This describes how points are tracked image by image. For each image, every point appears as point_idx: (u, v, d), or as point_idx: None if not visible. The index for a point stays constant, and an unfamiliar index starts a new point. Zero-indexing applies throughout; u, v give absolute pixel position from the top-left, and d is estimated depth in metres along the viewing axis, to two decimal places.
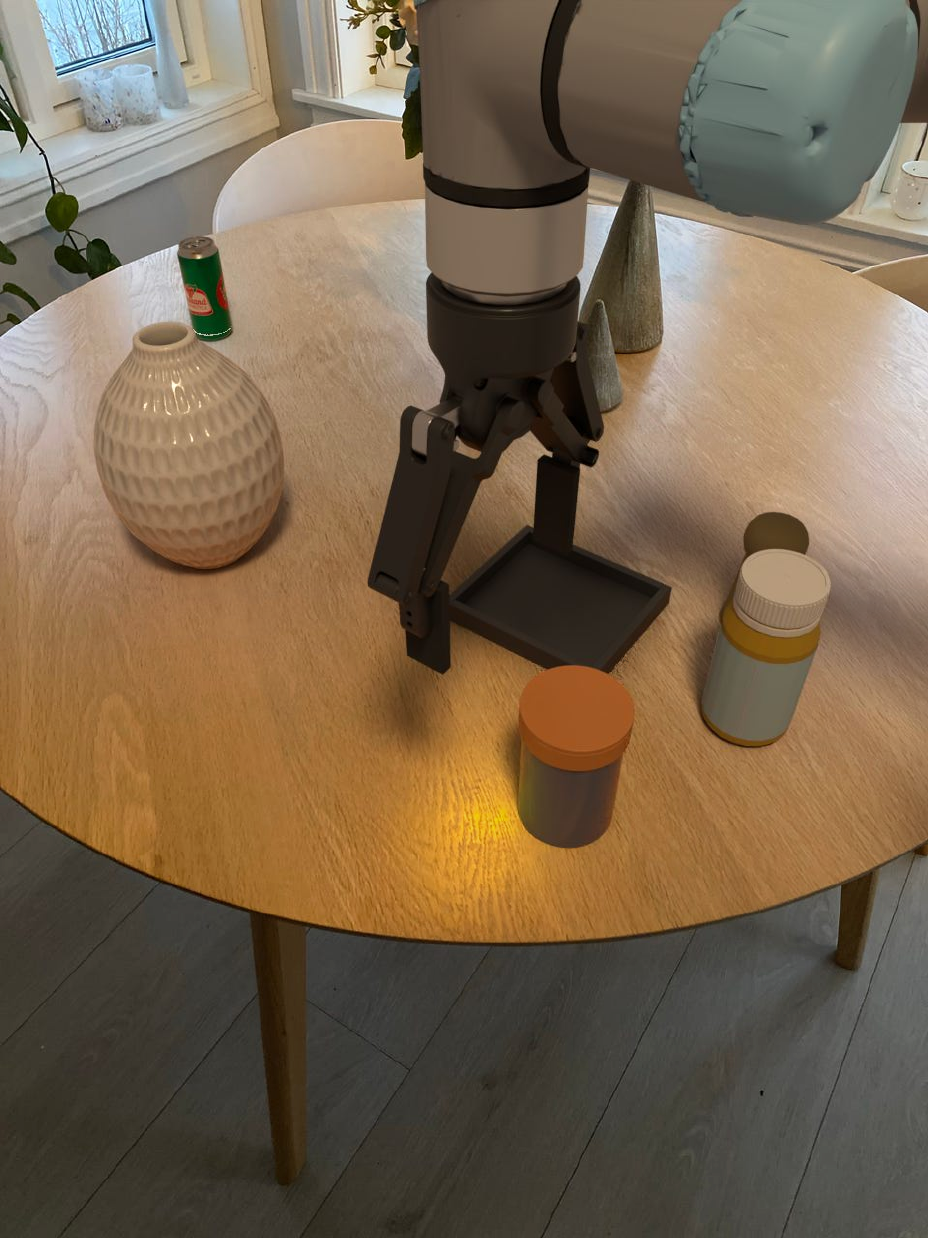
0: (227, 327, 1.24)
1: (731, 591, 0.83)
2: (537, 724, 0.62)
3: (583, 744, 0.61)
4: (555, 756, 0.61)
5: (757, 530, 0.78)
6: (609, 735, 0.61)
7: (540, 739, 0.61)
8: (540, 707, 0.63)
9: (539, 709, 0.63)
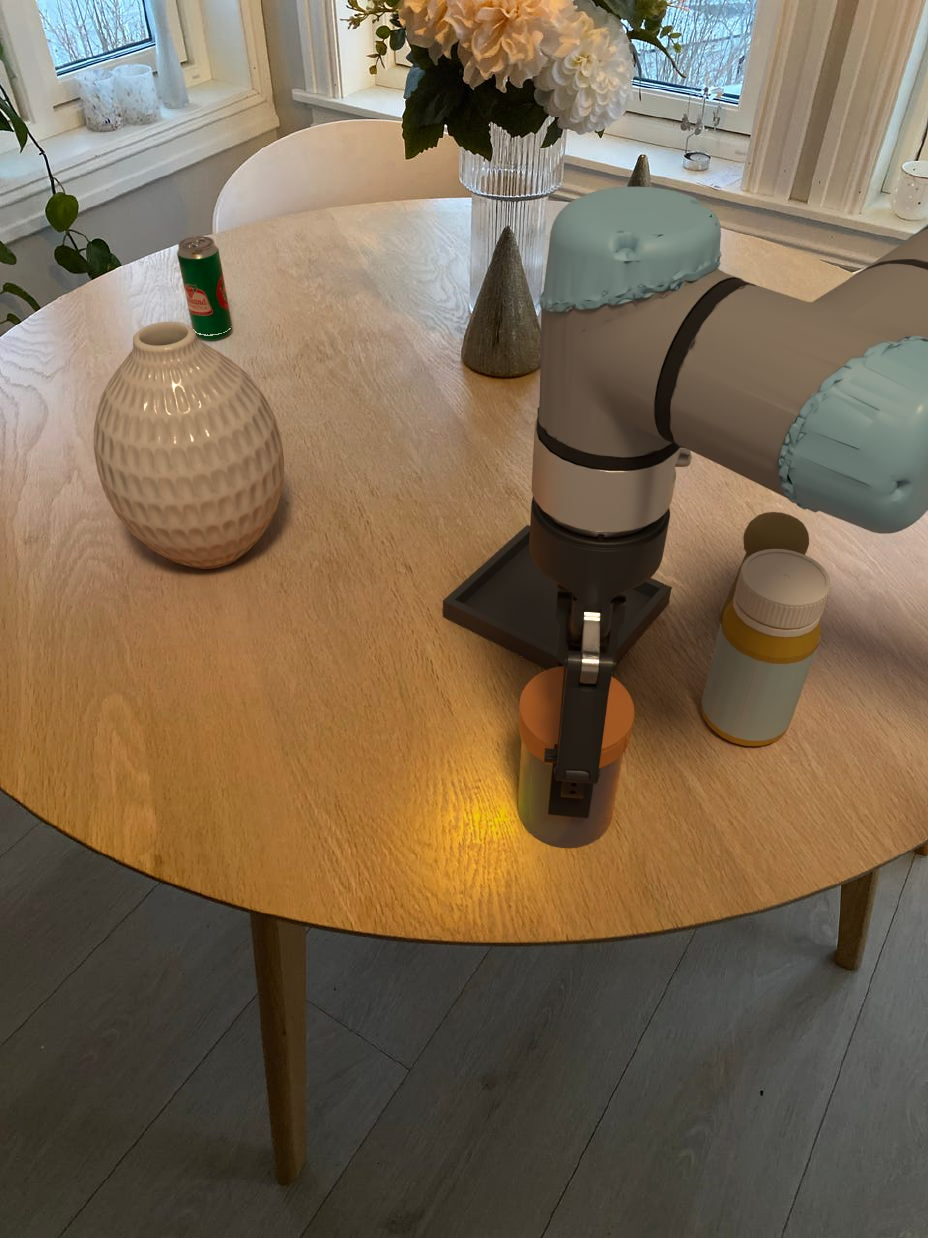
0: (227, 327, 1.24)
1: (731, 591, 0.83)
2: (537, 724, 0.62)
3: None
4: None
5: (757, 530, 0.78)
6: (609, 735, 0.61)
7: (540, 739, 0.61)
8: (540, 707, 0.63)
9: (539, 709, 0.63)
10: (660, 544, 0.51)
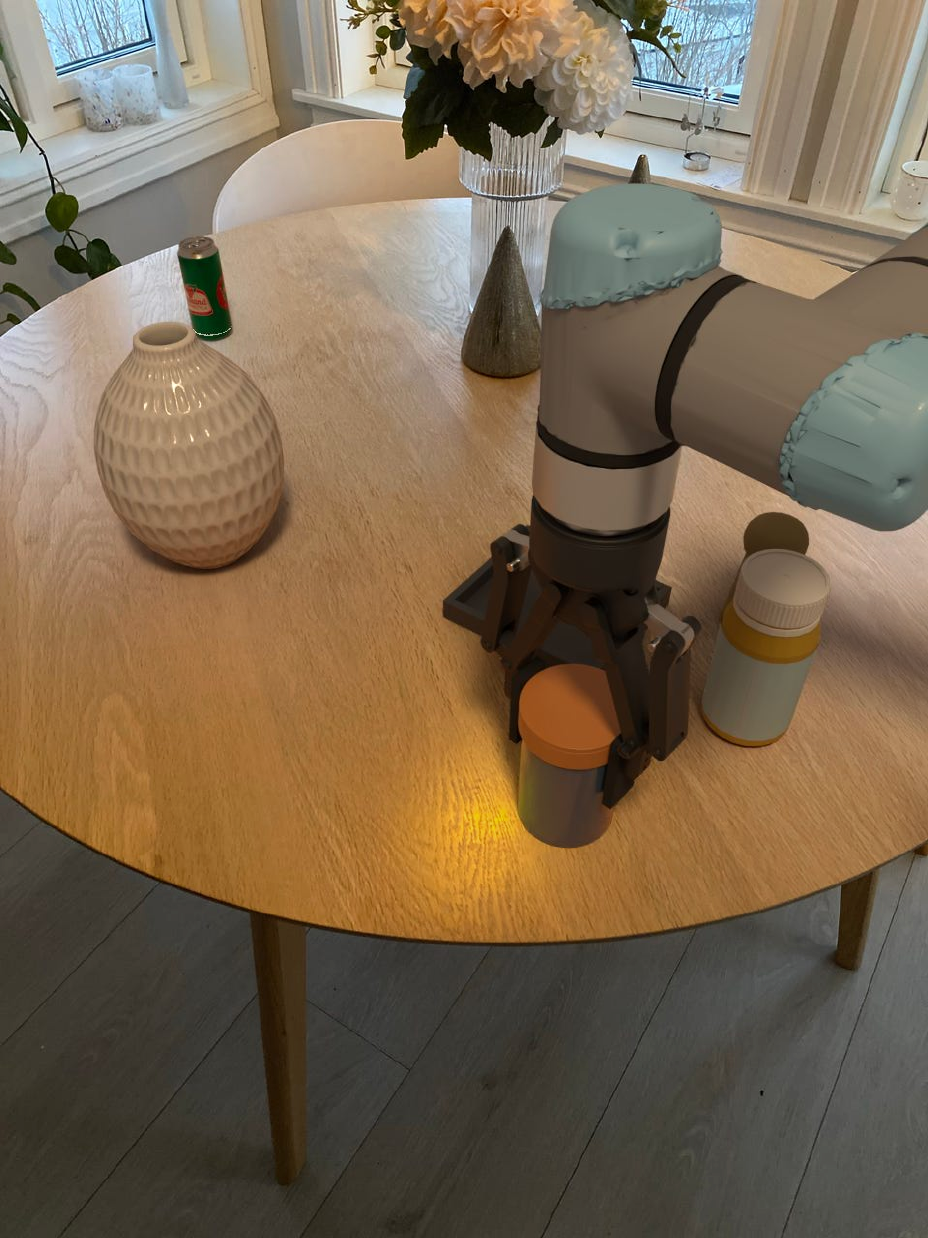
0: (227, 327, 1.24)
1: (731, 591, 0.83)
2: (575, 741, 0.61)
3: None
4: (608, 753, 0.61)
5: (757, 530, 0.78)
6: None
7: (592, 749, 0.60)
8: (558, 727, 0.62)
9: (559, 729, 0.62)
10: None
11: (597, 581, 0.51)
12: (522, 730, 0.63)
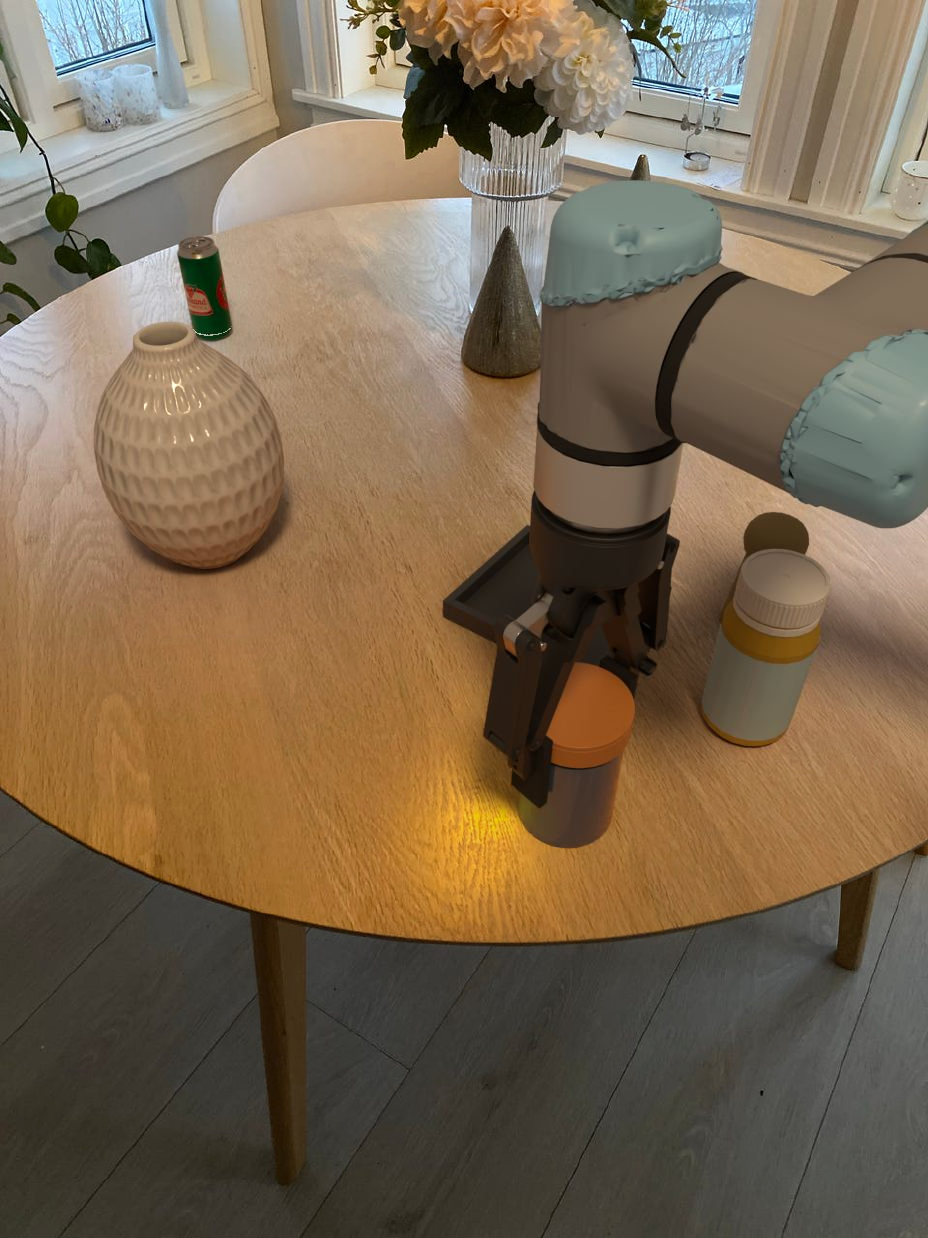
0: (227, 327, 1.24)
1: (731, 591, 0.83)
2: (624, 709, 0.63)
3: (603, 675, 0.65)
4: None
5: (757, 530, 0.78)
6: (576, 668, 0.65)
7: (633, 699, 0.63)
8: (608, 720, 0.62)
9: (610, 719, 0.62)
10: None
11: None
12: (594, 758, 0.61)
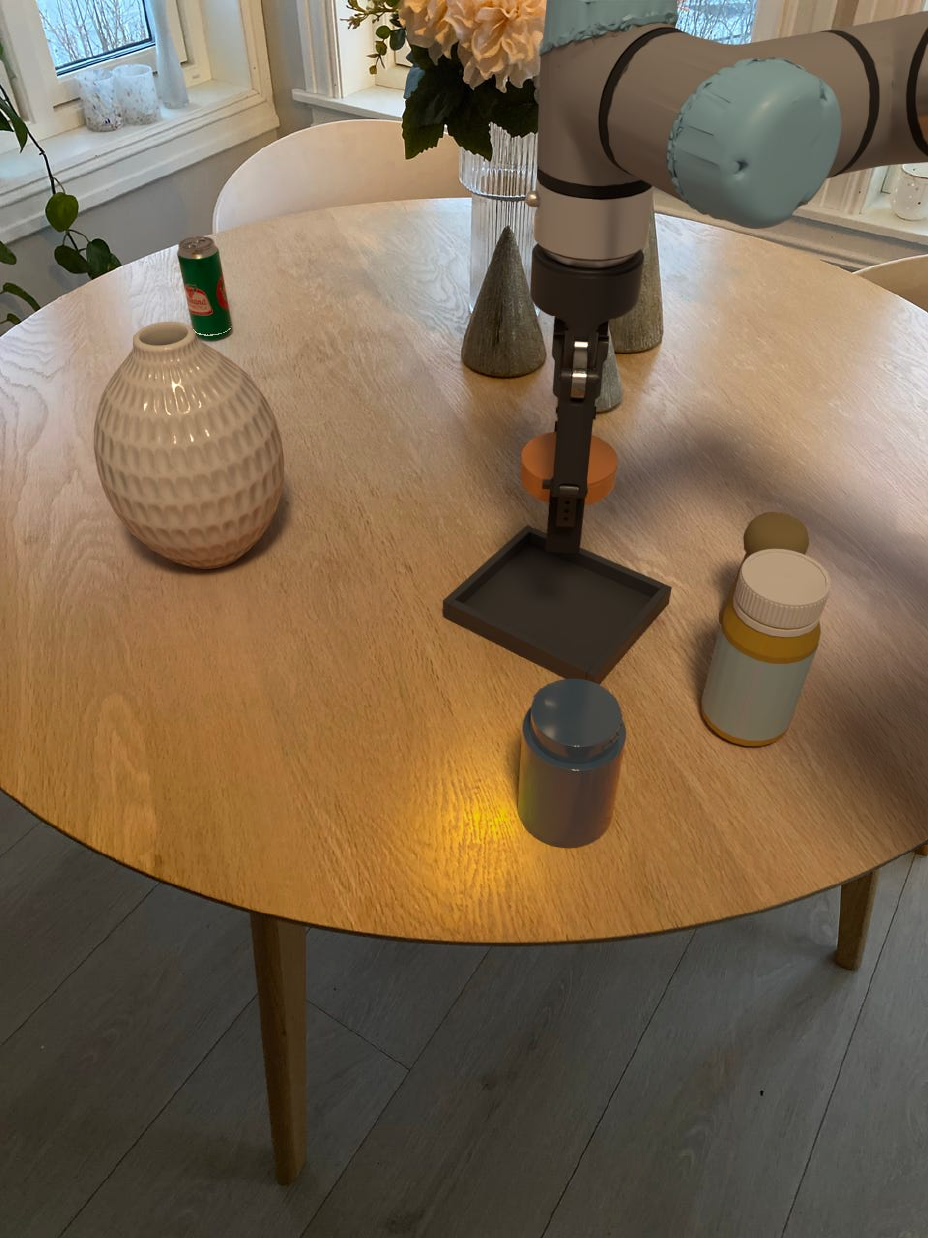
0: (227, 327, 1.24)
1: (731, 591, 0.83)
2: (601, 445, 0.77)
3: None
4: None
5: (757, 530, 0.78)
6: (543, 439, 0.77)
7: (598, 438, 0.78)
8: (599, 455, 0.76)
9: (600, 454, 0.76)
10: None
11: None
12: (610, 485, 0.75)
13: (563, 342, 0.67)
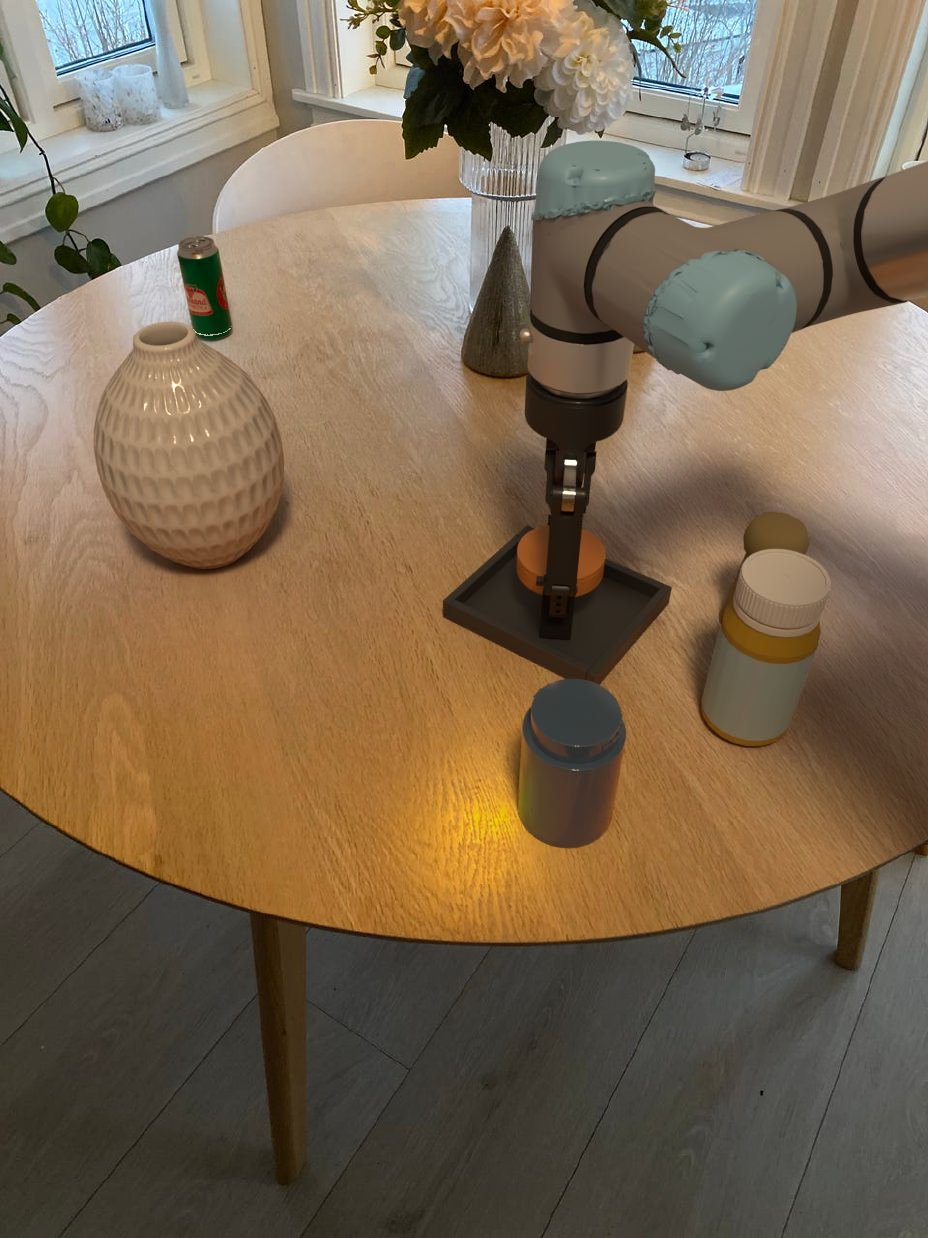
0: (227, 327, 1.24)
1: (731, 591, 0.83)
2: (590, 539, 0.83)
3: None
4: None
5: (757, 530, 0.78)
6: (537, 532, 0.84)
7: (587, 531, 0.84)
8: (589, 549, 0.82)
9: (589, 548, 0.82)
10: None
11: None
12: (598, 577, 0.81)
13: (555, 457, 0.74)
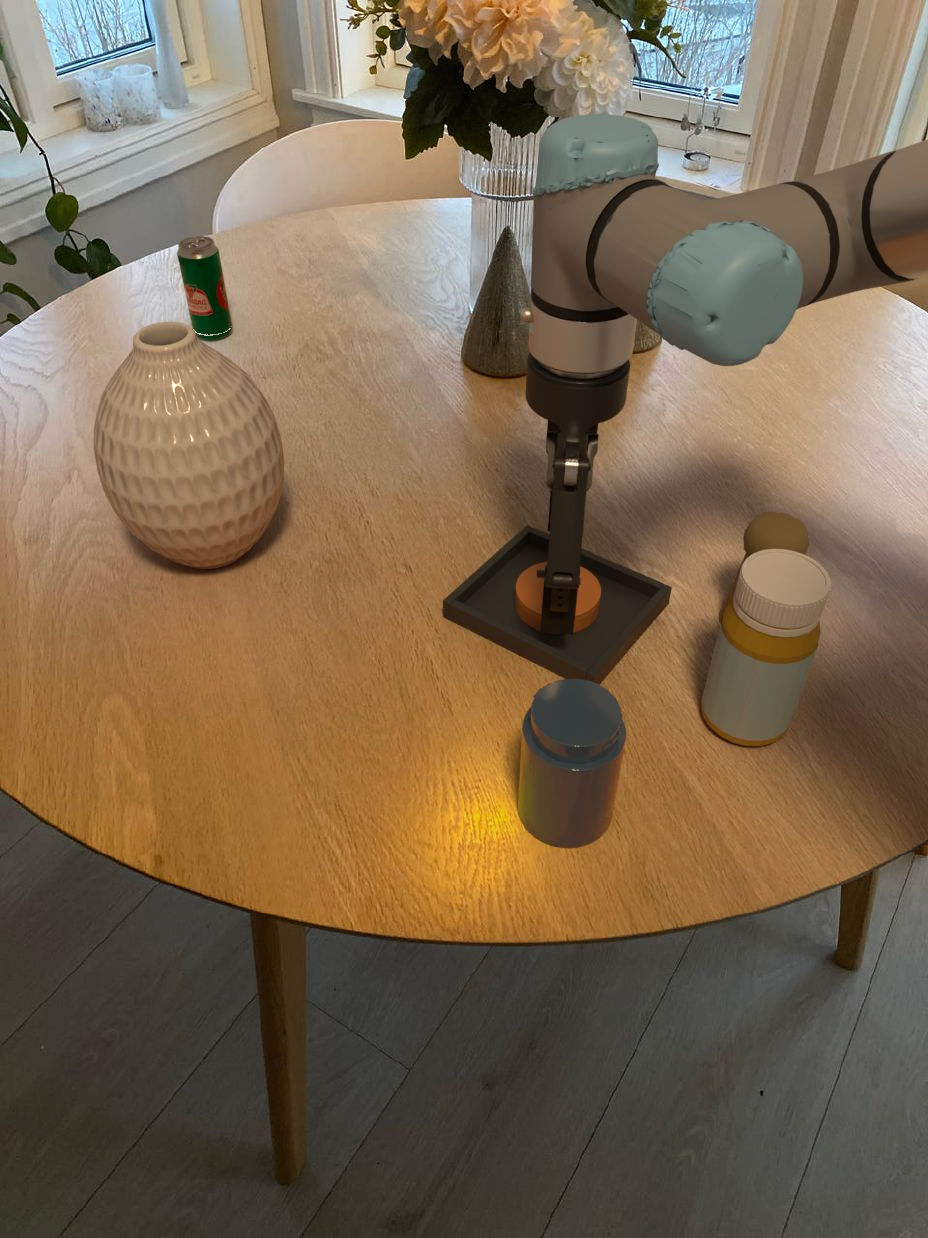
0: (227, 327, 1.24)
1: (731, 591, 0.83)
2: (587, 576, 0.86)
3: None
4: None
5: (757, 530, 0.78)
6: (535, 569, 0.87)
7: (584, 568, 0.87)
8: (585, 587, 0.85)
9: (586, 586, 0.85)
10: None
11: None
12: (594, 614, 0.84)
13: (556, 437, 0.72)
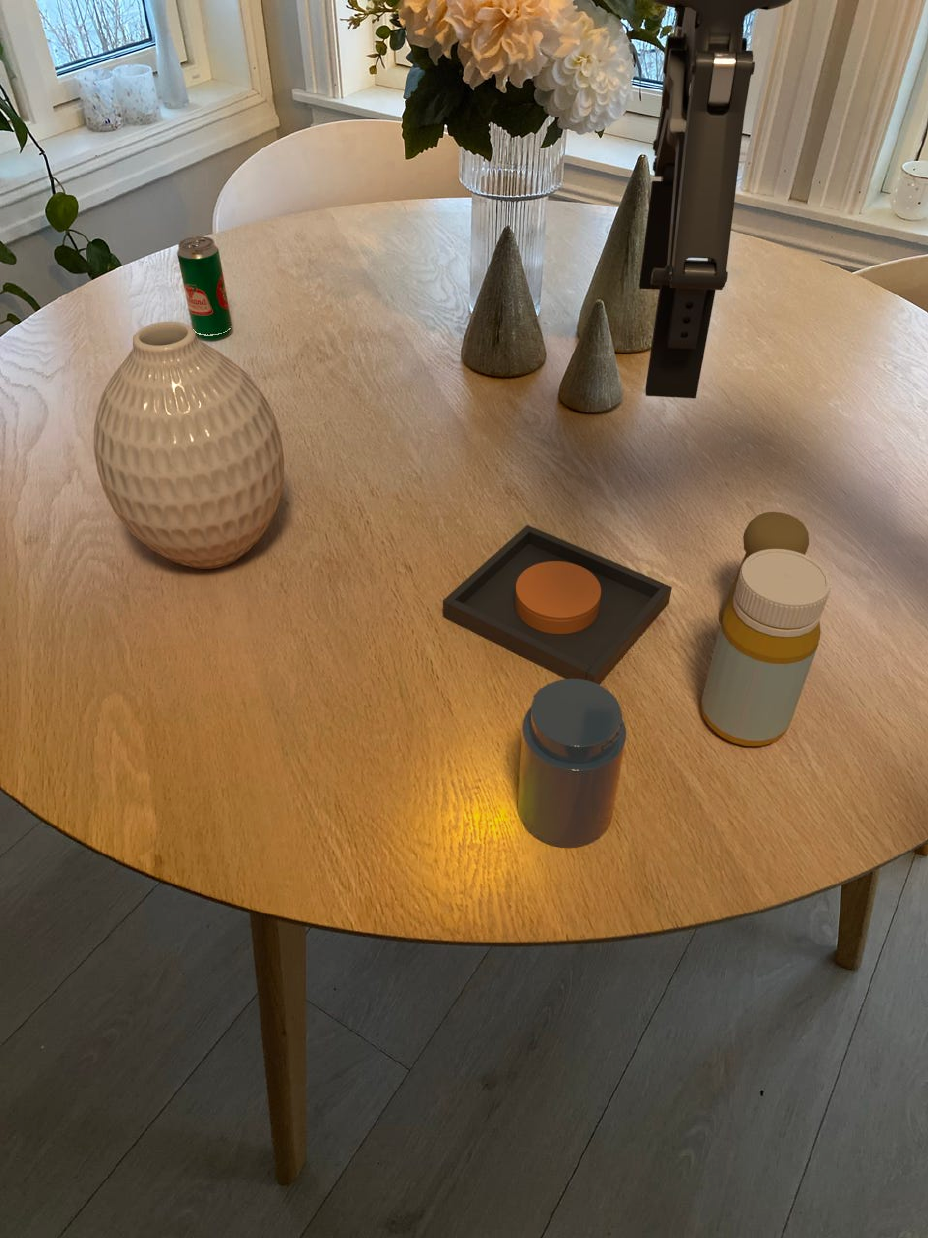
0: (227, 327, 1.24)
1: (731, 591, 0.83)
2: (587, 576, 0.86)
3: (554, 564, 0.87)
4: None
5: (757, 530, 0.78)
6: (535, 569, 0.87)
7: (584, 568, 0.87)
8: (585, 587, 0.85)
9: (586, 586, 0.85)
10: None
11: None
12: (594, 614, 0.84)
13: (687, 55, 0.46)
